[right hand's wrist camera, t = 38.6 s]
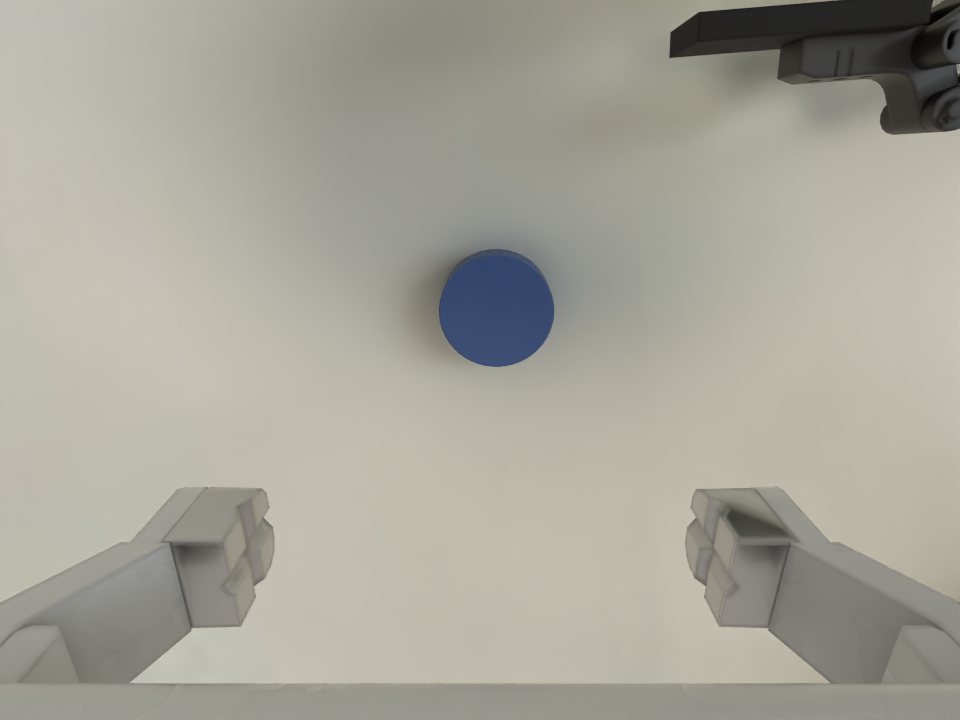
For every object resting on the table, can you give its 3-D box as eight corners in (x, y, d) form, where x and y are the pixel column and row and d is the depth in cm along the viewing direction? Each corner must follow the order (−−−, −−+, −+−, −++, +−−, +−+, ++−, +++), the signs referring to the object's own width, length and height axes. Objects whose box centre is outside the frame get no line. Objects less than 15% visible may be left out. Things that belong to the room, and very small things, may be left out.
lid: (446, 356, 28) (443, 369, 26) (438, 252, 26) (434, 258, 24) (550, 351, 28) (554, 364, 26) (549, 246, 26) (553, 252, 24)
